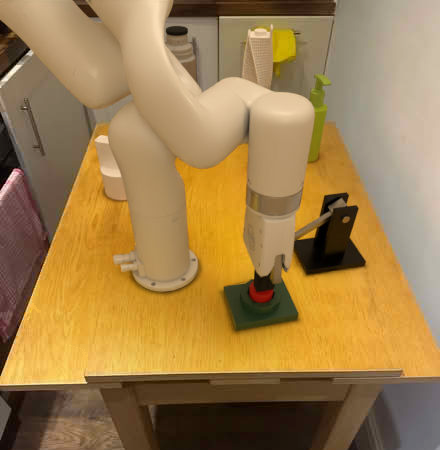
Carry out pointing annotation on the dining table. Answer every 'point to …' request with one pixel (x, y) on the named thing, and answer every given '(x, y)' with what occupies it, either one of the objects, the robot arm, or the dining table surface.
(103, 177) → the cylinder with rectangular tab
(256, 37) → the skyscraper
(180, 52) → the thermos bottle
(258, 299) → the button
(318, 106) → the soap dispenser
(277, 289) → the button box
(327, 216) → the lever
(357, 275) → the dining table surface
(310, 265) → the bracket
